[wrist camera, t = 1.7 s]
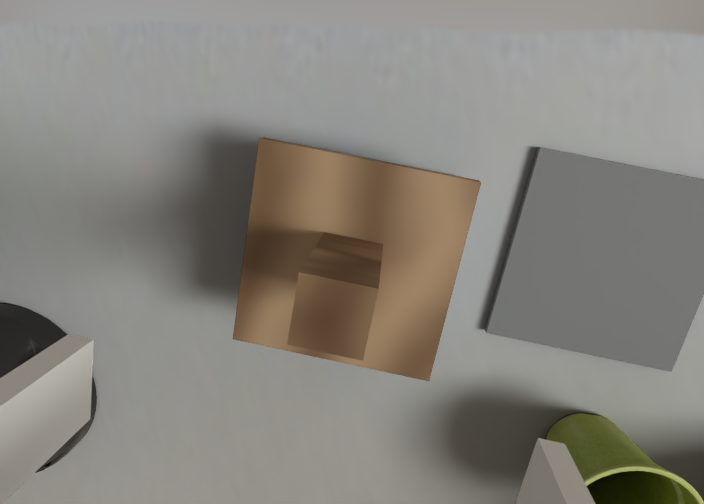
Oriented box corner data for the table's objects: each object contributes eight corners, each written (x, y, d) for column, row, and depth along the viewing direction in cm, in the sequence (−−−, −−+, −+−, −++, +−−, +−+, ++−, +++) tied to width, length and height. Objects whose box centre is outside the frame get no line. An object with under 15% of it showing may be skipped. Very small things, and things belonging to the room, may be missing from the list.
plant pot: (497, 435, 40) (524, 520, 31) (596, 370, 37) (653, 441, 29) (567, 510, 41) (610, 610, 33) (666, 451, 39) (740, 542, 30)
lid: (237, 332, 33) (180, 409, 24) (263, 137, 29) (207, 145, 20) (427, 373, 32) (439, 466, 23) (478, 180, 29) (513, 206, 20)
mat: (485, 329, 37) (486, 332, 37) (537, 147, 33) (540, 147, 33) (667, 367, 37) (671, 371, 36) (741, 187, 33) (747, 188, 32)
